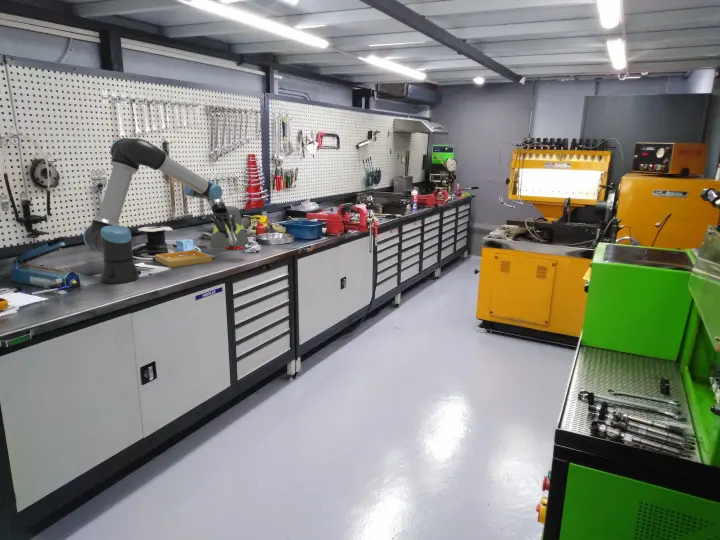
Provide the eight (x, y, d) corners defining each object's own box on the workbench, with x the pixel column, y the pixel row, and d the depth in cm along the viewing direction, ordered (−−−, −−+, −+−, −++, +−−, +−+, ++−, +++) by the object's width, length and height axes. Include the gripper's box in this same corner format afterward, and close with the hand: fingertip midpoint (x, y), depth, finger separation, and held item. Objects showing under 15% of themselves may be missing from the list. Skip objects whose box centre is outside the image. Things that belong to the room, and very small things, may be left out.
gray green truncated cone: (196, 248, 283) (194, 207, 278) (222, 240, 309) (221, 203, 304) (237, 252, 276) (236, 210, 270) (261, 243, 302) (260, 205, 296)
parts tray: (169, 268, 235) (169, 261, 234) (155, 260, 249) (154, 254, 248) (212, 262, 249) (211, 256, 248) (196, 255, 264) (195, 249, 263)
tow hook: (231, 247, 259) (223, 249, 250) (231, 223, 256) (223, 225, 247) (245, 248, 257) (238, 251, 248) (246, 224, 255) (238, 226, 246)
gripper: (228, 210, 263) (243, 245, 255) (203, 211, 253) (218, 247, 245) (232, 201, 258) (248, 236, 250) (207, 202, 248) (222, 238, 240)
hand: (233, 242), depth 248 cm, fingers closed on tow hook, 2 cm apart
